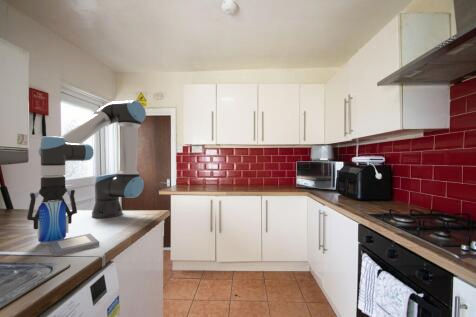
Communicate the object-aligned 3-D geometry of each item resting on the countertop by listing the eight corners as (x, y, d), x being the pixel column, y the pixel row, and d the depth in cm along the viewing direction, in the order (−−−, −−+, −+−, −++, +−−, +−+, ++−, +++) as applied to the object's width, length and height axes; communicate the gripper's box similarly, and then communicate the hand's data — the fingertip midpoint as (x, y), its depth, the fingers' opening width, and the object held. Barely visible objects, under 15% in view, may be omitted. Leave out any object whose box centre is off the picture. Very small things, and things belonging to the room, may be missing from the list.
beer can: (67, 241, 90) (67, 200, 89) (39, 247, 84) (39, 203, 83) (63, 236, 95) (64, 197, 95) (37, 241, 89) (37, 200, 89)
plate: (90, 237, 95) (90, 233, 95) (99, 245, 86) (99, 241, 86) (49, 245, 85) (49, 241, 85) (54, 256, 76) (54, 251, 76)
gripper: (82, 174, 100) (82, 226, 100) (16, 177, 85) (16, 238, 85) (86, 175, 94) (86, 230, 94) (17, 178, 80) (17, 244, 80)
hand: (53, 234), depth 90 cm, fingers closed on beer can, 8 cm apart
